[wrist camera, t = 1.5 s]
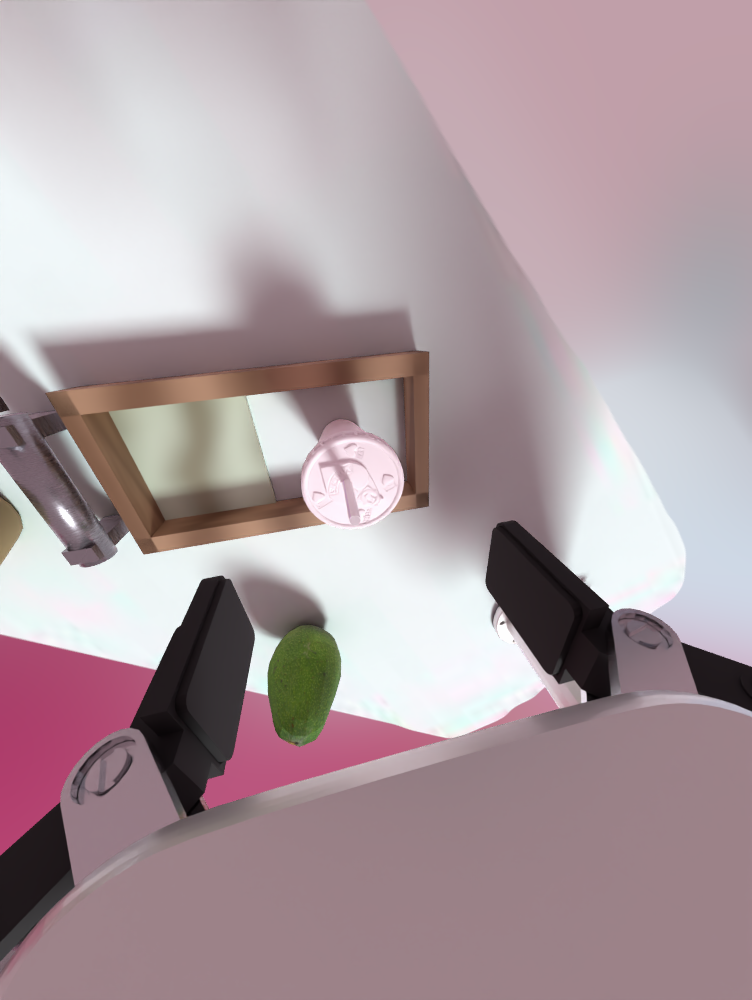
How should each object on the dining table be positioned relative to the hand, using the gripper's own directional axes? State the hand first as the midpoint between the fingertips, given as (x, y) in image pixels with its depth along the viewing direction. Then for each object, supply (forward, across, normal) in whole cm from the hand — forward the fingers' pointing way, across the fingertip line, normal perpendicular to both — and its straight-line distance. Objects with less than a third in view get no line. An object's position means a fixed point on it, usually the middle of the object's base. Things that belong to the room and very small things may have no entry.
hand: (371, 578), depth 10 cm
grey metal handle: (+18, +20, 0) cm, 27 cm away
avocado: (+18, +8, +25) cm, 31 cm away
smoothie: (+18, 0, +1) cm, 18 cm away
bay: (+18, +5, +1) cm, 19 cm away
